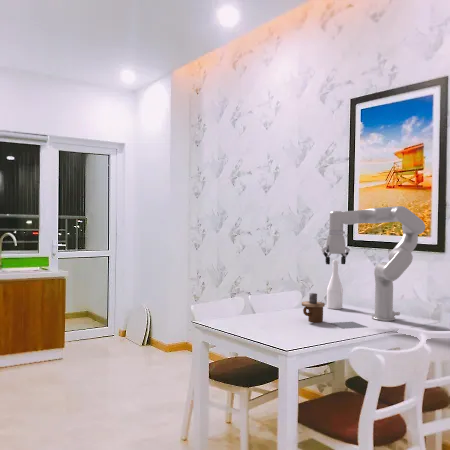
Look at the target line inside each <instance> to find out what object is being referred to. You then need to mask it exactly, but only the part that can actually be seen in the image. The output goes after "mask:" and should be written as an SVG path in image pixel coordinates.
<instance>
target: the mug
mask: <svg viewBox="0 0 450 450" xmlns="http://www.w3.org/2000/svg"><path fill="white" fill-rule="evenodd" d="M302 311H303V314H304V316H307V319H308V320H307V321H308V322H309V323H315V324H316V323H317V324H318V323H319V324H320V323H323V322H324V307H306V306H303V309H302ZM307 311H308V312H307Z"/></svg>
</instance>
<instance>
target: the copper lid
mask: <svg viewBox="0 0 450 450" xmlns="http://www.w3.org/2000/svg"><path fill="white" fill-rule="evenodd" d="M308 299H309V300H307V301H301V306H302V307H323V308H324V307H325V302H322V301H321V302H320V301H318V293H316V292H315V293H314V292H310V293H309V297H308Z"/></svg>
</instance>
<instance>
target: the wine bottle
mask: <svg viewBox="0 0 450 450" xmlns="http://www.w3.org/2000/svg"><path fill="white" fill-rule="evenodd" d="M343 291H344V290H343V285H342V283H341V278H340V275H339V260H338V259H333V260H332V273H331V277H330V279H329V282H328V285H327V288H326V307H327V309H329V310H330V309H331V310H341V309H343V300H344V299H343V295H344V294H343V293H344V292H343Z"/></svg>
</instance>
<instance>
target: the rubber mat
mask: <svg viewBox="0 0 450 450" xmlns="http://www.w3.org/2000/svg"><path fill="white" fill-rule="evenodd" d="M328 324H329V325H332V326H333V327H337V328H339V329H344V330H345V329H359V328H363V329H364V328H368V326H367V325H363V324H360V323H358V322H355V321H343V322H342V321H341V322H340V321H339V322H328Z"/></svg>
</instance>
